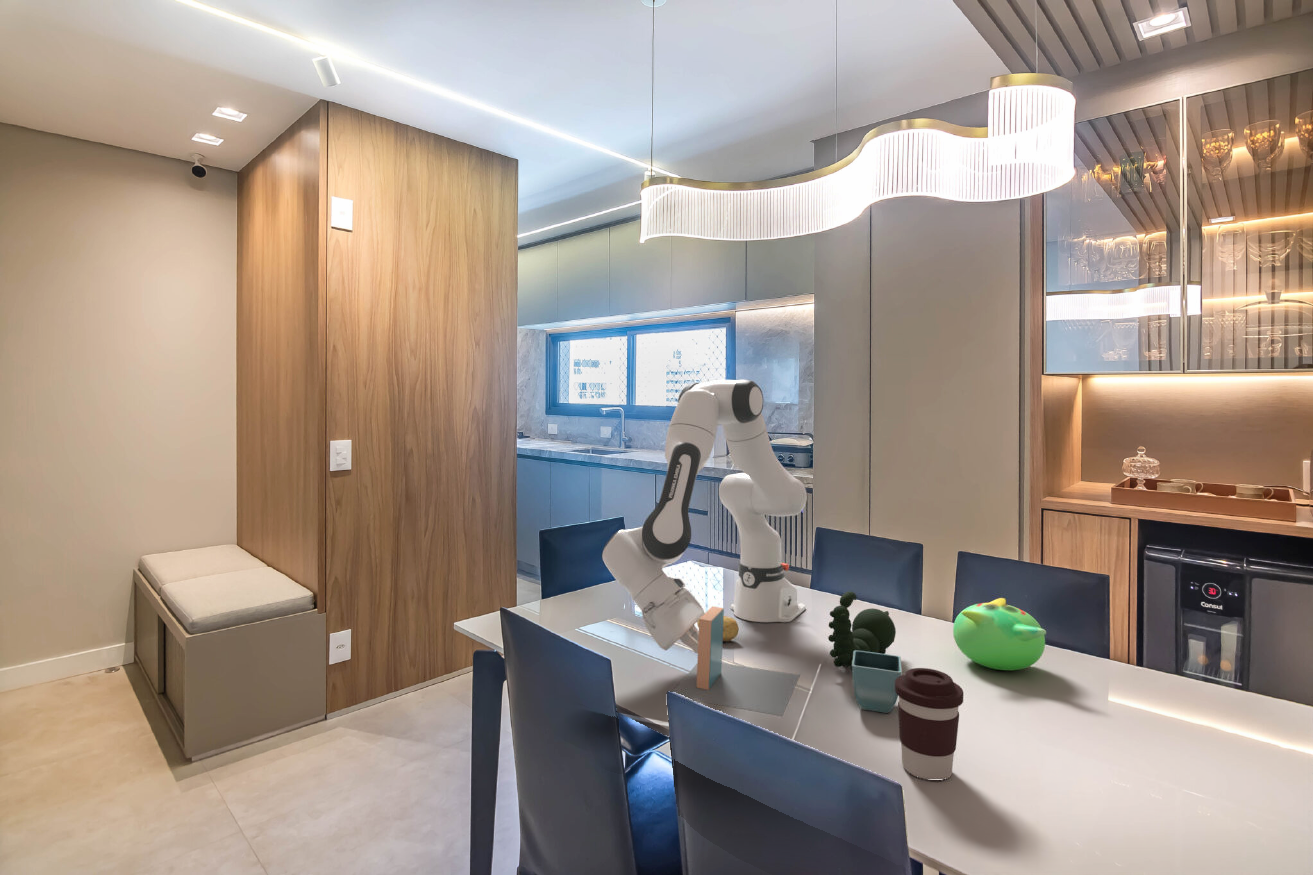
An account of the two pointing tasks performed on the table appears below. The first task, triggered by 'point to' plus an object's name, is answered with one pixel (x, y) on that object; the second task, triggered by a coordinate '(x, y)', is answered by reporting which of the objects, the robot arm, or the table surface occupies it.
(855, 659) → the flower pot
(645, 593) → the robot arm
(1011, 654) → the squishy toy
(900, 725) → the coffee cup
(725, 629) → the potato
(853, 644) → the toy figurine
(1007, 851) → the table surface
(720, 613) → the block
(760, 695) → the mat
